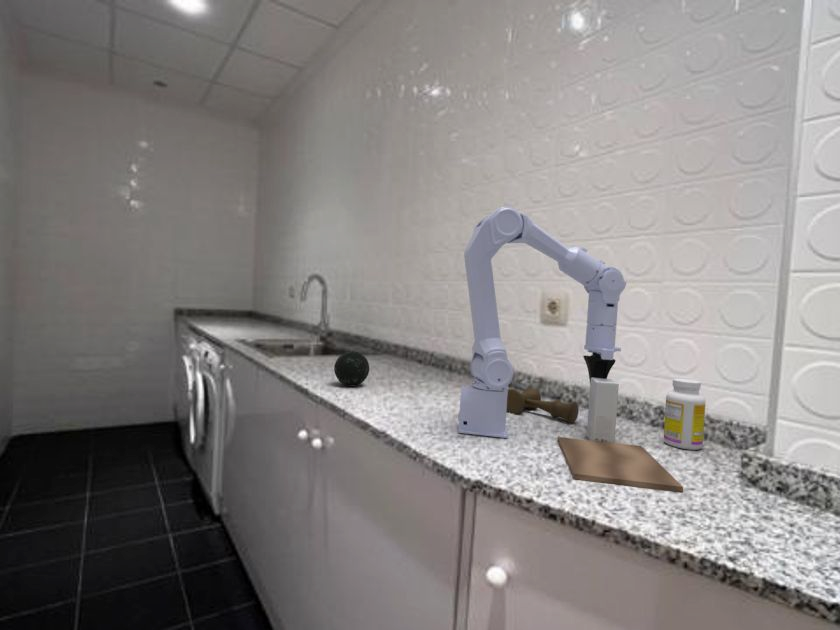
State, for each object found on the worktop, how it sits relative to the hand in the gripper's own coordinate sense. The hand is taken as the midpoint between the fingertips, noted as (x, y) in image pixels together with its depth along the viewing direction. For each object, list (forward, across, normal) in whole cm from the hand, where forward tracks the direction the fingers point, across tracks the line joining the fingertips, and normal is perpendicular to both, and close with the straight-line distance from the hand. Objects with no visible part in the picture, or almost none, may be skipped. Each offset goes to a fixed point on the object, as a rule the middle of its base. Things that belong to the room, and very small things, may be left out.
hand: (596, 390), depth 91 cm
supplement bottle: (+9, -3, -16) cm, 19 cm away
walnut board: (+9, -19, +1) cm, 21 cm away
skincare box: (+9, -6, 0) cm, 11 cm away
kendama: (+9, +12, +11) cm, 19 cm away
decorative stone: (+9, +24, +62) cm, 67 cm away
